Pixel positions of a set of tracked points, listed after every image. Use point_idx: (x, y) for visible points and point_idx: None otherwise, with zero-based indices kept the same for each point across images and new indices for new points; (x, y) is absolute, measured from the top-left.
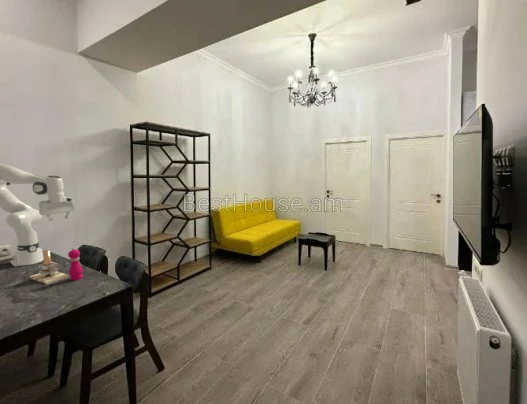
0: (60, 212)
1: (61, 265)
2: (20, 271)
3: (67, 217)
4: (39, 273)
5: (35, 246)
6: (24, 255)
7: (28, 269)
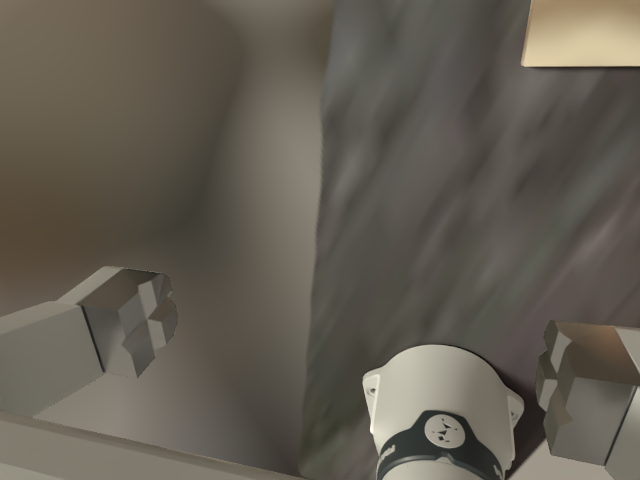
0: (179, 465)
1: (397, 157)
2: (580, 288)
3: (109, 278)
4: (624, 62)
5: (423, 439)
6: (487, 420)
7: (535, 280)
